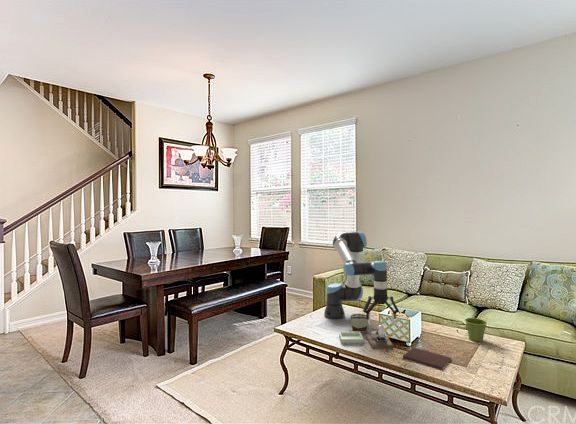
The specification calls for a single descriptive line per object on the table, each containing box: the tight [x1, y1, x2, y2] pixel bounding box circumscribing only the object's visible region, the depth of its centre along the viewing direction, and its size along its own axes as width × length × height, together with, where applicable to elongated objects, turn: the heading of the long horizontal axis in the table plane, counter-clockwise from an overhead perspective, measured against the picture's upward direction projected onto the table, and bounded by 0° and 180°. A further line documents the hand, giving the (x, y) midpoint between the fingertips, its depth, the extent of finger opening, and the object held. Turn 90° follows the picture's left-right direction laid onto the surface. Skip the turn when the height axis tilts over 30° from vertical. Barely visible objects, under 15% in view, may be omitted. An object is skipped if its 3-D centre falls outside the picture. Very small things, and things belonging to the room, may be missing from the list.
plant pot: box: [464, 317, 488, 343], centre depth 199 cm, size 12×12×11 cm
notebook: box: [402, 347, 452, 371], centre depth 176 cm, size 15×20×2 cm
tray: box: [338, 331, 365, 345], centre depth 202 cm, size 12×13×3 cm
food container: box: [349, 313, 369, 333], centre depth 218 cm, size 12×6×10 cm, turn 84°
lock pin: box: [377, 324, 385, 340], centre depth 192 cm, size 3×3×10 cm
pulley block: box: [365, 330, 394, 350], centre depth 197 cm, size 16×12×5 cm
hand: (381, 324), depth 192 cm, fingers open, 13 cm apart
